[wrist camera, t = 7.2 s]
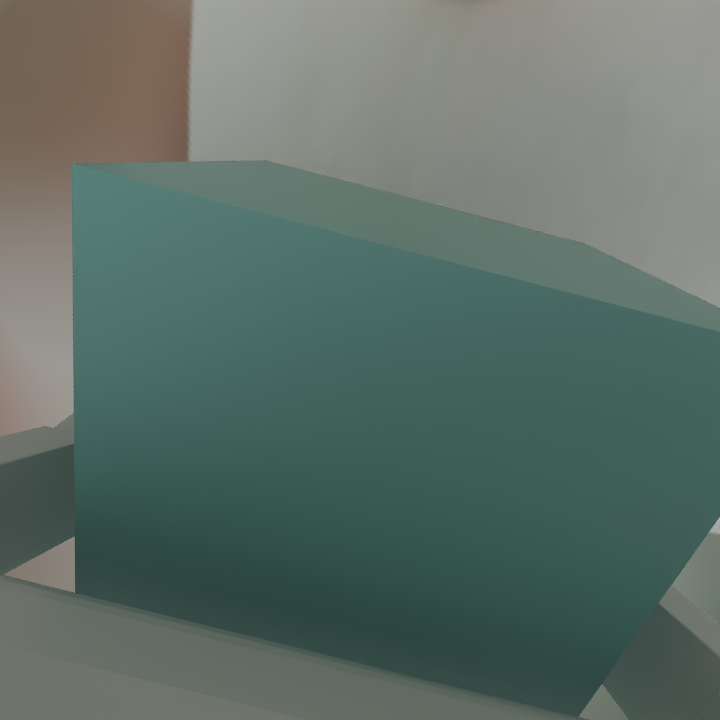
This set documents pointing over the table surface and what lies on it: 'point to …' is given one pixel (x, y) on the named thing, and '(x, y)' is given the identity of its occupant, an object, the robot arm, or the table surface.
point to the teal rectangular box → (382, 425)
